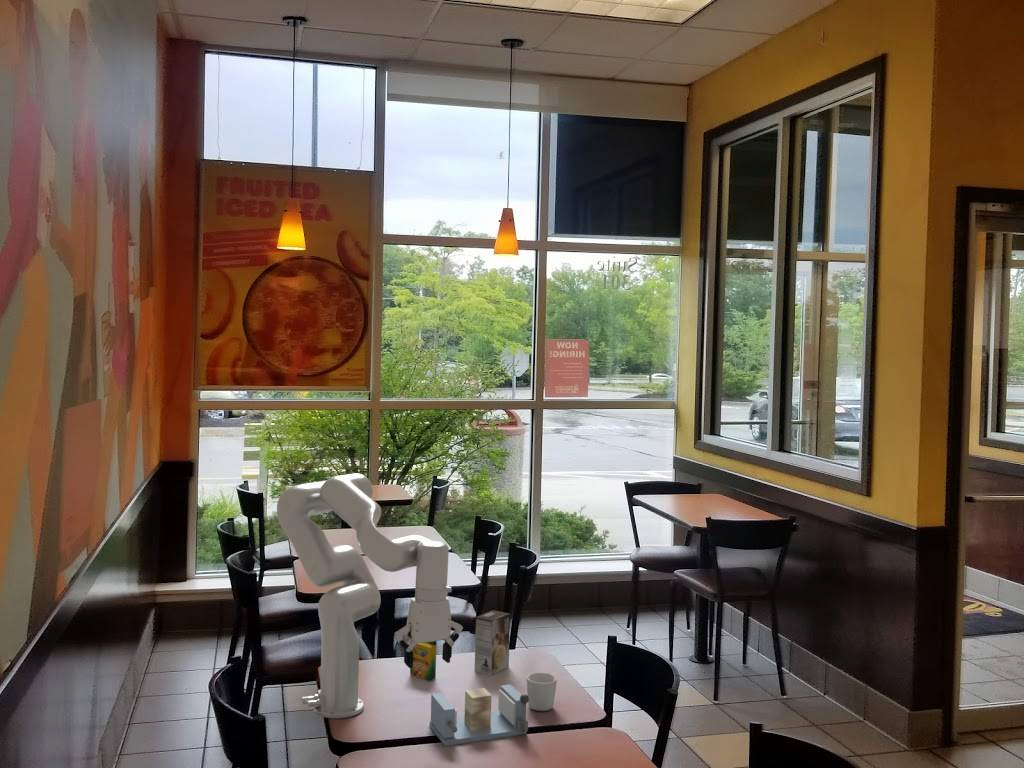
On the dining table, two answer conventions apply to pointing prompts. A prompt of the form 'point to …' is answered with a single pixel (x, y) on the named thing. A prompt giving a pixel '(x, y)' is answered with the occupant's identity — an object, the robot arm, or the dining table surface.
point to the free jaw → (443, 715)
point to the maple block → (477, 709)
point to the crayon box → (424, 660)
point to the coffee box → (492, 642)
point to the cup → (541, 691)
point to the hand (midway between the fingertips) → (427, 663)
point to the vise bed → (494, 720)
